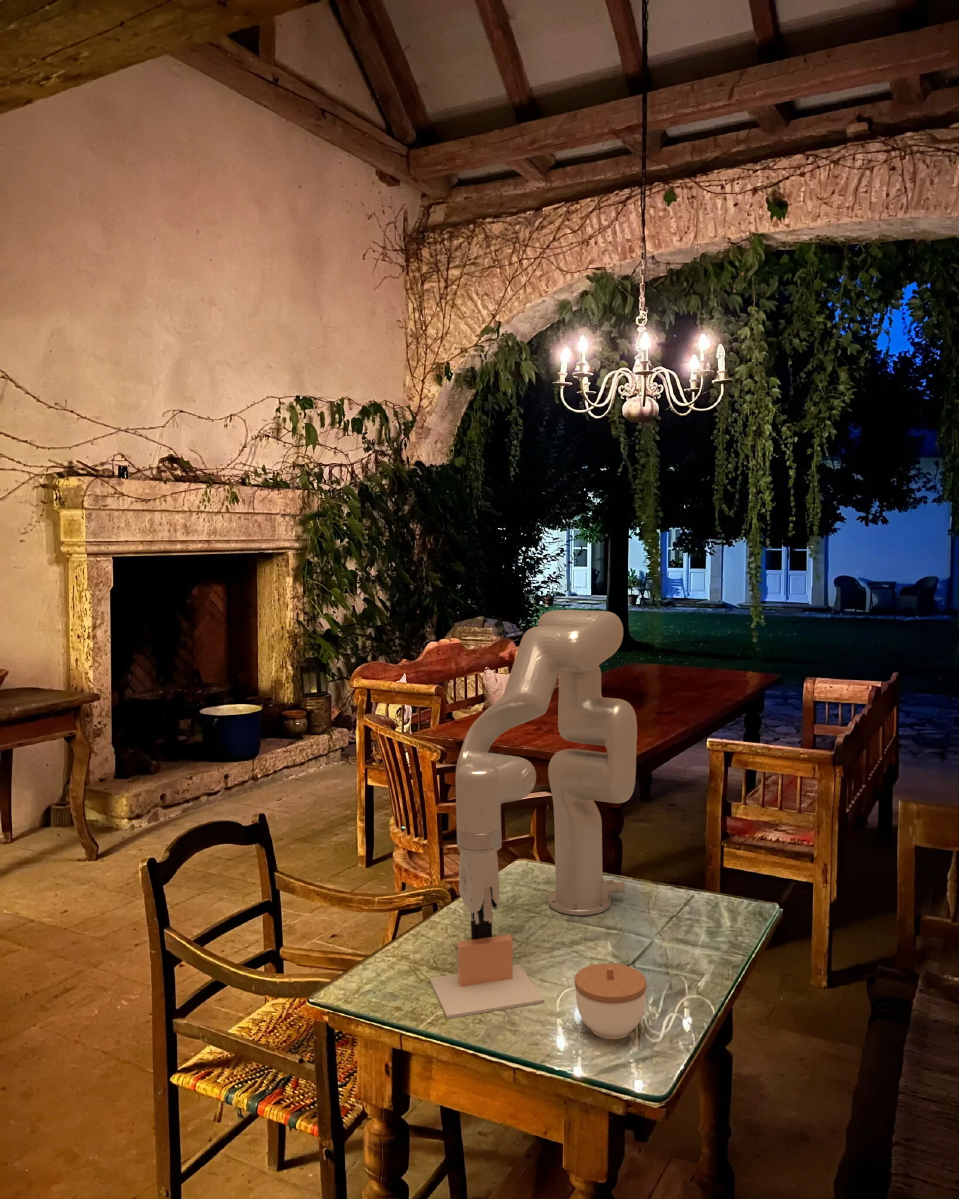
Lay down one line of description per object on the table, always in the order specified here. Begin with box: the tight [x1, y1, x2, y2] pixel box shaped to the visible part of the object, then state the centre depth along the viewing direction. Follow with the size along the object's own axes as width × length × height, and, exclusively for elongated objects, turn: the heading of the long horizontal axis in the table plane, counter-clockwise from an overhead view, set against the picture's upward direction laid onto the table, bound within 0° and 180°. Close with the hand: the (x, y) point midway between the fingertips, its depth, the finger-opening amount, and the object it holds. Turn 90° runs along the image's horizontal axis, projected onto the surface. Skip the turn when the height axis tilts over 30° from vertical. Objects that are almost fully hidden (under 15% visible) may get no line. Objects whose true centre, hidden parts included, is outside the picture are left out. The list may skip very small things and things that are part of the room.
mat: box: [429, 964, 545, 1019], centre depth 151 cm, size 16×13×1 cm
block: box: [457, 934, 514, 987], centre depth 154 cm, size 9×2×7 cm, turn 105°
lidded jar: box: [574, 962, 647, 1040], centre depth 139 cm, size 11×11×9 cm
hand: (481, 943), depth 156 cm, fingers closed
